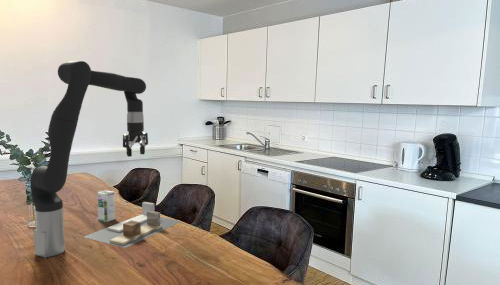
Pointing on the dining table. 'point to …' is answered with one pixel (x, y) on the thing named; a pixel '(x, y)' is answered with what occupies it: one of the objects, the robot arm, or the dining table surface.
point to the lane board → (107, 234)
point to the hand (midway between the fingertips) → (136, 155)
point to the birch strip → (151, 226)
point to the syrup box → (106, 206)
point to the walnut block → (131, 228)
